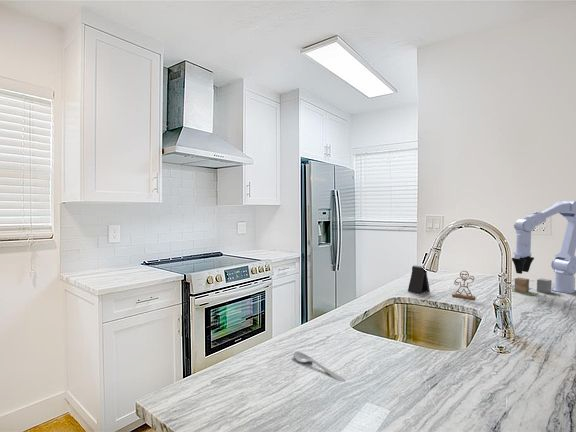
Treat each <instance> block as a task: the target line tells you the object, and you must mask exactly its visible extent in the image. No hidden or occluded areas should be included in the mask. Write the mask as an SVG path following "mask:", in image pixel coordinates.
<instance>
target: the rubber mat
mask: <svg viewBox="0 0 576 432" xmlns="http://www.w3.org/2000/svg"><path fill="white" fill-rule="evenodd" d="M511 292H514V293H519V294H524V295H529V296H536V295H539V293H540V292H535V291H530V290H529V292H526V293H523V292H518V291H514V289H513V288H512V291H511Z"/></svg>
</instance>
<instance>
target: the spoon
mask: <svg viewBox="0 0 576 432" xmlns="http://www.w3.org/2000/svg"><path fill="white" fill-rule="evenodd" d="M293 358H294V359H295V360H296V361H297V362H299V363H310V362H311V363H314V364H315V365H316V366H318V367H319V368H321V369H322V370H323V371H325V372H326V373H327V374H328V375H329V376H331V378H333V379H334V380H336V381H338V382H343V383H346V382H347V380H346V379H345V378H344V377H342V376H341V375H340V374H337V373H335V372H334V371H332V370H330V369H329V368H327V367H325V366H324V365H323V364H321V363H319V362H318V361H316V360H315V359H314V358H313V357H311V356H309V355H307V354H305V353H303V352H300V351H294V352H293ZM302 360H304V361H302Z"/></svg>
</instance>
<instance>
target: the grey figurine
mask: <svg viewBox="0 0 576 432" xmlns="http://www.w3.org/2000/svg"><path fill="white" fill-rule="evenodd" d="M459 279H461V281H459V282H458V281H457V280H459ZM467 280H472V281H471V282H467ZM474 280H475V276H474V275H470V274H469V272H468V271H466V270H461V272H460V273H459V277H458V278H456V279H455V280H454V283H453V284H454V285H455V286H458V285H459V287H458V289H457V290H456V292H454V293H453V294H452V296H451V297H452V298H459V299H465V300H471V301H475V300H476V295H473V294H472V292H471V290H470V289H469V284H472V283H473V282H474ZM462 282H463V284H462ZM465 283H466V284H465ZM461 288H463V289H462V291H459V290H460V289H461ZM465 288H466V289H467V291H468V292H467V291H466V290H465ZM463 291H464V293H465V294H464V293H463Z"/></svg>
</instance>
